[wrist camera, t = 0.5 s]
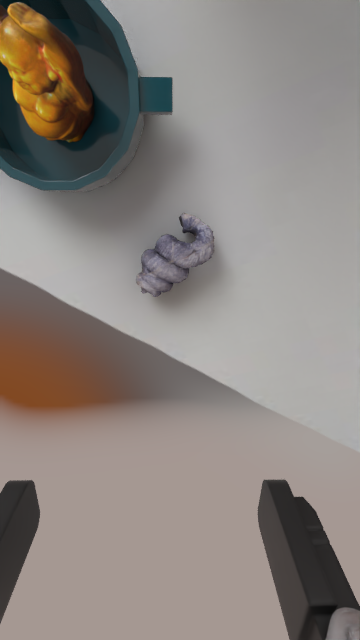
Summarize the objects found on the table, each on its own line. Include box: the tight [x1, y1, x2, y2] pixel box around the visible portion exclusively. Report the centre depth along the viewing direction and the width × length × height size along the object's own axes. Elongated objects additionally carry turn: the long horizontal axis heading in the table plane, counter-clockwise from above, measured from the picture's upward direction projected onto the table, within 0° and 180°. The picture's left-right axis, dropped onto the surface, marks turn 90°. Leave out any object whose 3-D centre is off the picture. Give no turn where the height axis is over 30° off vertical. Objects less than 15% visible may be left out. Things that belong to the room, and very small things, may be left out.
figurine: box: [0, 2, 94, 142], centre depth 23 cm, size 6×7×13 cm
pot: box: [0, 0, 172, 192], centre depth 27 cm, size 15×20×5 cm
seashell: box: [136, 213, 214, 297], centre depth 33 cm, size 5×5×10 cm
